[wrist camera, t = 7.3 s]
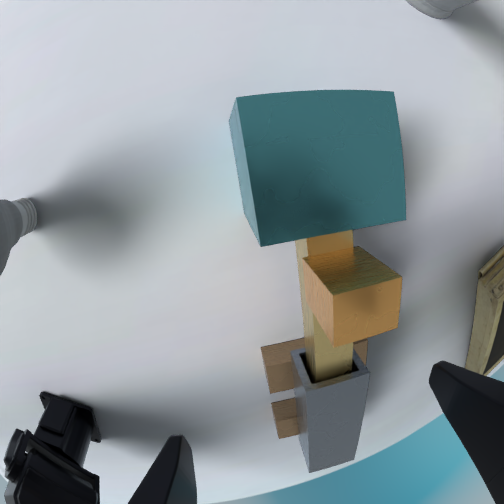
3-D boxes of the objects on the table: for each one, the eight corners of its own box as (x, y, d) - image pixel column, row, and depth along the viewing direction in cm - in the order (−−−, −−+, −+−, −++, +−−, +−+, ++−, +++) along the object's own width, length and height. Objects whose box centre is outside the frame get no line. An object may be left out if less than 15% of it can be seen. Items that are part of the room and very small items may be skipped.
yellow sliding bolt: (340, 403, 21) (367, 461, 15) (305, 413, 21) (327, 475, 15) (332, 158, 15) (400, 163, 9) (279, 164, 14) (322, 170, 8)
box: (506, 225, 20) (540, 247, 16) (491, 340, 31) (509, 359, 27) (459, 271, 21) (495, 301, 17) (454, 373, 32) (471, 395, 27)
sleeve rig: (349, 406, 26) (374, 456, 19) (275, 426, 25) (289, 482, 19) (341, 109, 17) (402, 92, 10) (220, 122, 16) (223, 99, 10)
